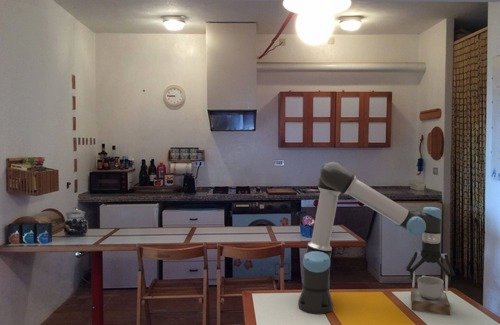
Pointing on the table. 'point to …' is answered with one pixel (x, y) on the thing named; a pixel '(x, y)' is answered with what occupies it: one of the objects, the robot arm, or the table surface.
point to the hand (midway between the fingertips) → (429, 288)
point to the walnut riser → (430, 303)
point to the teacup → (430, 287)
